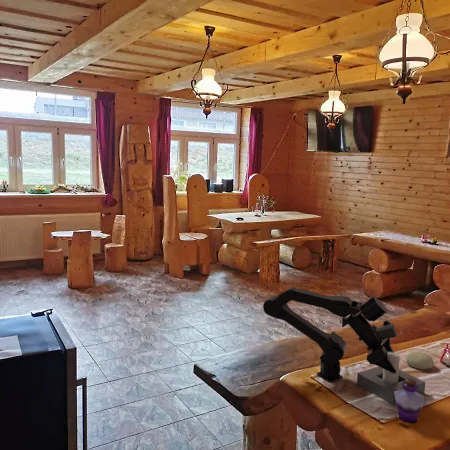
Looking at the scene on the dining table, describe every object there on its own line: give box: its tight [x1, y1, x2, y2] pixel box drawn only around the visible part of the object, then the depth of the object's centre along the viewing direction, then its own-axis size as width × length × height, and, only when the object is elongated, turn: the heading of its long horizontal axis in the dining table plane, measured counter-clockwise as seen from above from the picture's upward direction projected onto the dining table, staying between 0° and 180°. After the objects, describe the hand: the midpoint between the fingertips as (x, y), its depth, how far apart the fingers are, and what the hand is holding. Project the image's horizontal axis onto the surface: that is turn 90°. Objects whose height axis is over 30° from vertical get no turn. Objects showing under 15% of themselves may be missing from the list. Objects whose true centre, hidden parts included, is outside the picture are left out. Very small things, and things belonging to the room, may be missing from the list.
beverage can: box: [383, 351, 401, 384], centre depth 148 cm, size 5×5×12 cm
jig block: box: [356, 366, 426, 406], centre depth 148 cm, size 15×15×4 cm
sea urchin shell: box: [405, 351, 435, 370], centre depth 166 cm, size 9×8×8 cm
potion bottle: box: [394, 378, 425, 424], centre depth 131 cm, size 9×9×12 cm
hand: (396, 366), depth 147 cm, fingers open, 9 cm apart
